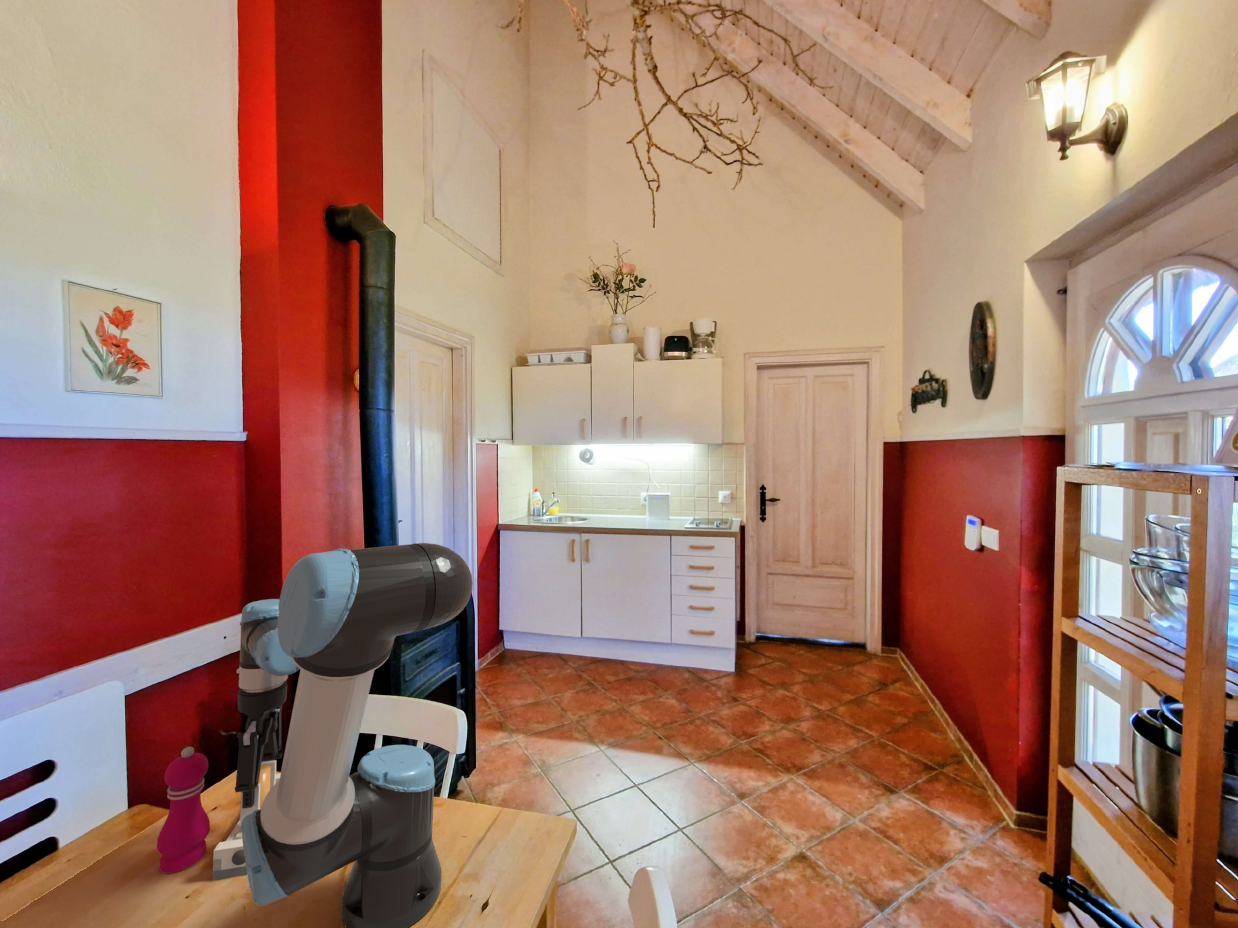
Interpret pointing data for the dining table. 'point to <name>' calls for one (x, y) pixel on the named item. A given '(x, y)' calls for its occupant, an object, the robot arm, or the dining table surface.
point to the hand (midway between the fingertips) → (258, 808)
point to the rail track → (231, 855)
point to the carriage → (265, 788)
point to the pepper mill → (184, 814)
